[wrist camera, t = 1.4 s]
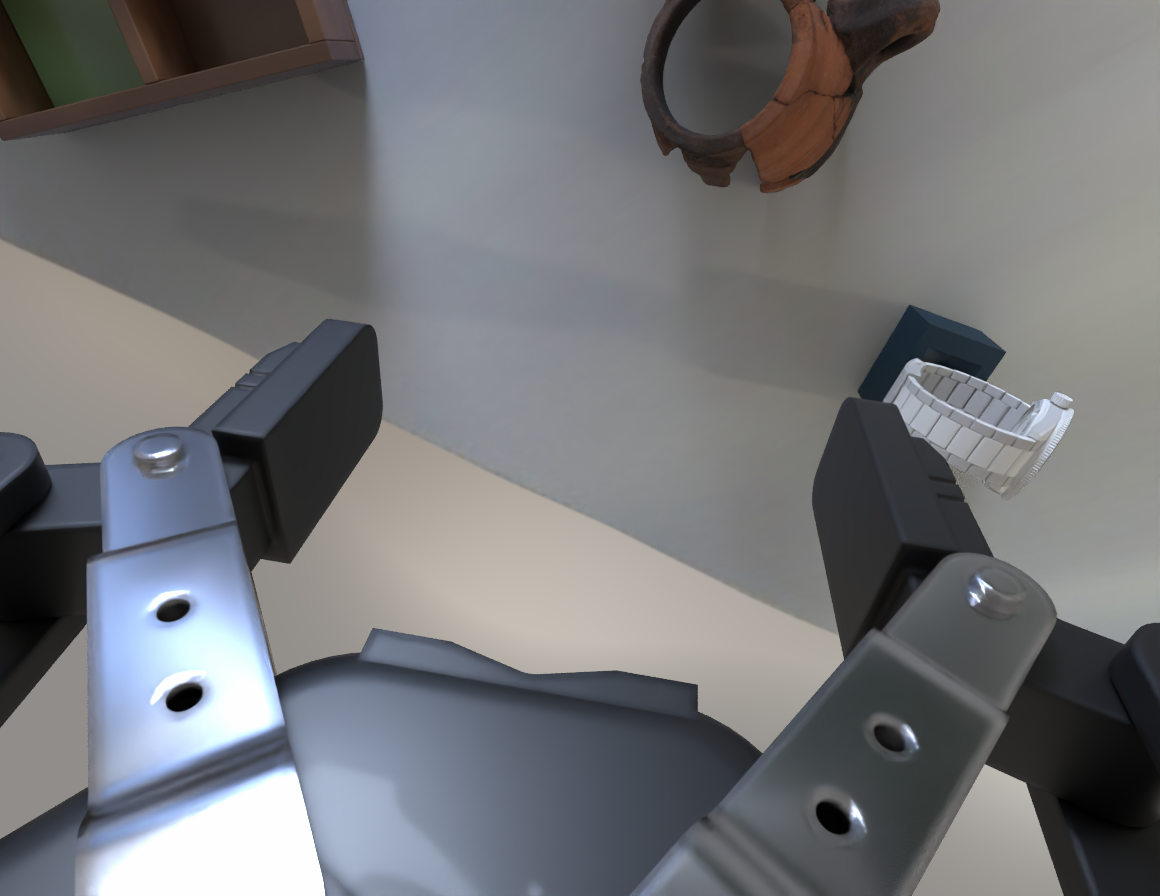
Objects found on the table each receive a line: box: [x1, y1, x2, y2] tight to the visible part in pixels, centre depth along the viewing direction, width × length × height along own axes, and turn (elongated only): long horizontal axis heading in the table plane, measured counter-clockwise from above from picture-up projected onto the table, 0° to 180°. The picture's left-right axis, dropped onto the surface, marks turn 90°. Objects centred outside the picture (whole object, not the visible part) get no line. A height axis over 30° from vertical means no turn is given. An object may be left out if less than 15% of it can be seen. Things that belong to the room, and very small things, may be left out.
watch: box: [858, 305, 1074, 500], centre depth 34 cm, size 6×8×11 cm
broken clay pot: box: [640, 0, 940, 193], centre depth 31 cm, size 12×10×8 cm
